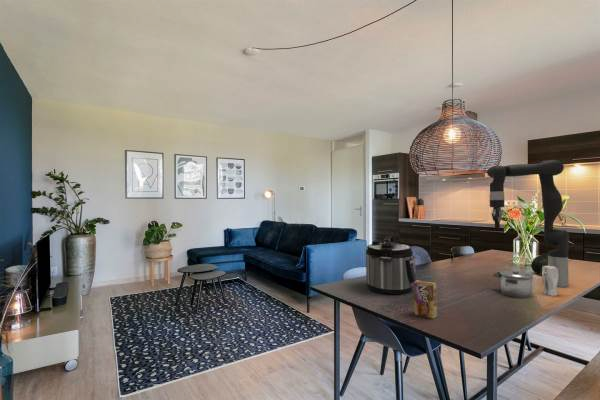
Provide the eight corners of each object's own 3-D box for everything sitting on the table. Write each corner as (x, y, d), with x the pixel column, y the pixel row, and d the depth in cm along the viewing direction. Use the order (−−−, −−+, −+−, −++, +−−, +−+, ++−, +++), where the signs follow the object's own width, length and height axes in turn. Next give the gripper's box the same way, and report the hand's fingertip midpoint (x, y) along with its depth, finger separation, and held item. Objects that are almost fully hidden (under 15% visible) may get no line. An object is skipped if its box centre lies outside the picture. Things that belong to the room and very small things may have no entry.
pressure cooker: (392, 300, 163) (391, 240, 163) (355, 287, 186) (354, 235, 186) (426, 290, 179) (425, 235, 179) (388, 280, 203) (387, 232, 203)
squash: (530, 267, 206) (547, 251, 203) (523, 264, 220) (540, 249, 217) (550, 283, 202) (568, 267, 198) (542, 278, 216) (559, 263, 212)
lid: (502, 270, 180) (502, 267, 180) (535, 275, 168) (535, 272, 168) (494, 275, 170) (494, 271, 170) (529, 280, 158) (529, 277, 158)
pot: (500, 286, 183) (499, 269, 183) (535, 292, 170) (535, 274, 170) (489, 293, 170) (489, 275, 170) (527, 300, 157) (527, 280, 157)
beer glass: (552, 296, 162) (551, 268, 162) (539, 293, 169) (538, 266, 169) (562, 295, 164) (561, 267, 164) (548, 292, 171) (548, 265, 171)
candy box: (437, 316, 139) (436, 282, 139) (434, 319, 136) (433, 284, 136) (418, 311, 145) (417, 279, 145) (414, 314, 142) (413, 281, 142)
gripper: (500, 199, 175) (501, 229, 175) (507, 199, 184) (507, 227, 184) (486, 199, 181) (486, 228, 181) (493, 199, 190) (493, 227, 190)
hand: (497, 228), depth 183 cm, fingers closed
